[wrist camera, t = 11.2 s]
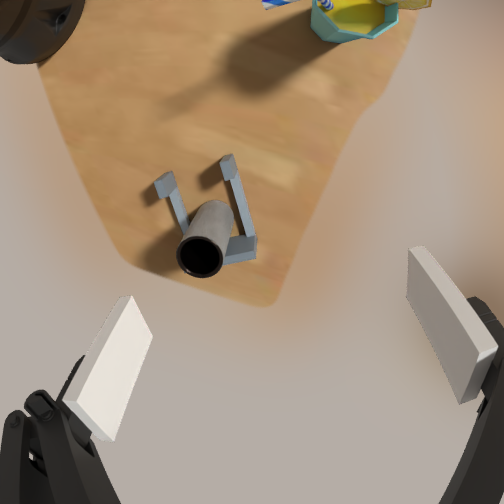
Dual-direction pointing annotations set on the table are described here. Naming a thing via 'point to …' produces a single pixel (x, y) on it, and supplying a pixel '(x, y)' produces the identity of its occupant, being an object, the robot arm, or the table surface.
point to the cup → (353, 16)
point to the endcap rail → (243, 244)
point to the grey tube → (206, 240)
